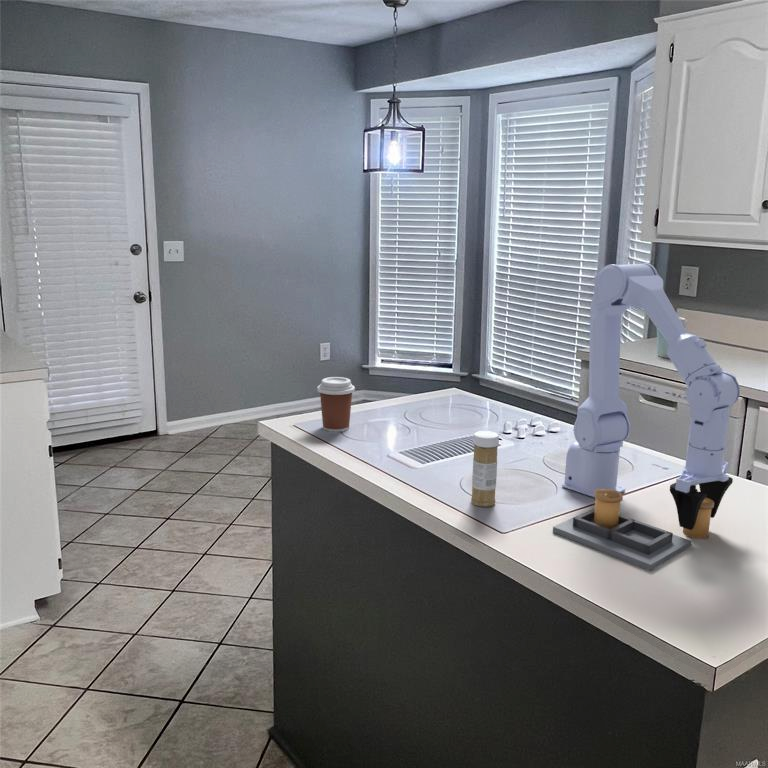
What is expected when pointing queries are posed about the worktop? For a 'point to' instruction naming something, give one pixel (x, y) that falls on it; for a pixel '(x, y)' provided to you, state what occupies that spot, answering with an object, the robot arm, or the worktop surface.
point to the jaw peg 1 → (607, 507)
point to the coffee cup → (336, 403)
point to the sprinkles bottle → (484, 468)
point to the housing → (625, 539)
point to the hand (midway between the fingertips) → (697, 521)
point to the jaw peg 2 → (701, 521)
